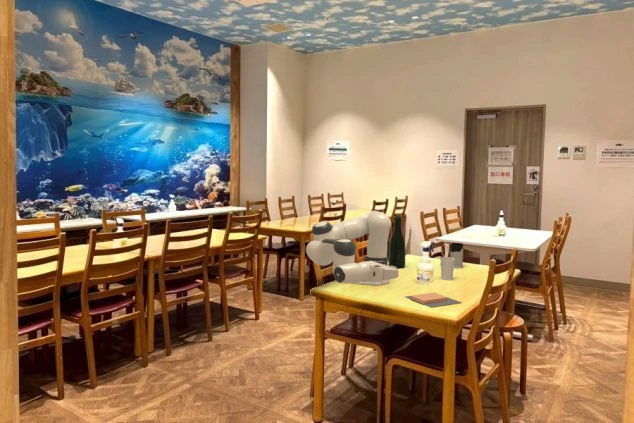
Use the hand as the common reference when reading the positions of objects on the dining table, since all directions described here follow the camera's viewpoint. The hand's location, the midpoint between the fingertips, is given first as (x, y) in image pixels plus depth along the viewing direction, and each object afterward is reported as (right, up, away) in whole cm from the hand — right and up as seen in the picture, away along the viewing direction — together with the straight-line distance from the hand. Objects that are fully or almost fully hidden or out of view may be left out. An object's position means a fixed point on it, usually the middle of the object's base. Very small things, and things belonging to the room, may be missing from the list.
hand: (394, 268), depth 229 cm
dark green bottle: (+15, -10, +90) cm, 91 cm away
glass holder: (+51, -10, +92) cm, 105 cm away
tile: (+12, -16, +8) cm, 22 cm away
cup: (+39, -13, +57) cm, 70 cm away
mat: (+20, -17, +13) cm, 29 cm away
